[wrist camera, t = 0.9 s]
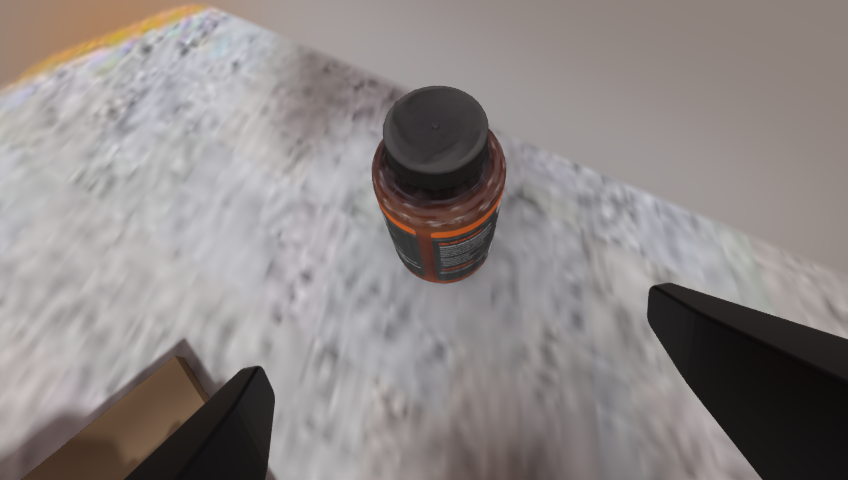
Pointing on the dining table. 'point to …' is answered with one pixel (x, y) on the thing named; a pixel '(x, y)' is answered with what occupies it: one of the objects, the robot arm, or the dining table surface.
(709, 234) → the dining table surface
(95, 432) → the octagonal bottle holder
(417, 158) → the supplement bottle
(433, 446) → the dining table surface
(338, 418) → the dining table surface
